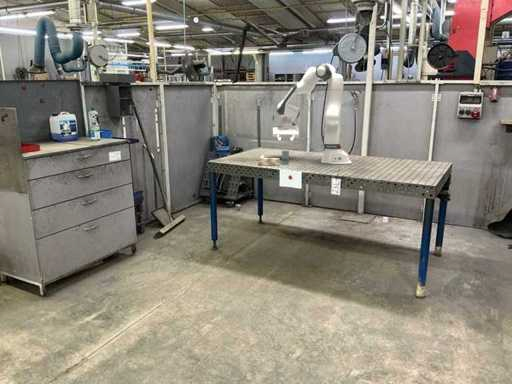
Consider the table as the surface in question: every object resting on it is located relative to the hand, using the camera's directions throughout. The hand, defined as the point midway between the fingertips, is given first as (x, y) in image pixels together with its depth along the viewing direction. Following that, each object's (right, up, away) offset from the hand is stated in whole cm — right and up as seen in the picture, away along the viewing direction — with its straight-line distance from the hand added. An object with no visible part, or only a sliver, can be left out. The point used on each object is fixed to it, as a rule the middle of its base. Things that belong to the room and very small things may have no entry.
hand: (285, 140), depth 302 cm
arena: (-12, -19, -12) cm, 26 cm away
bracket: (-1, -18, -11) cm, 21 cm away
